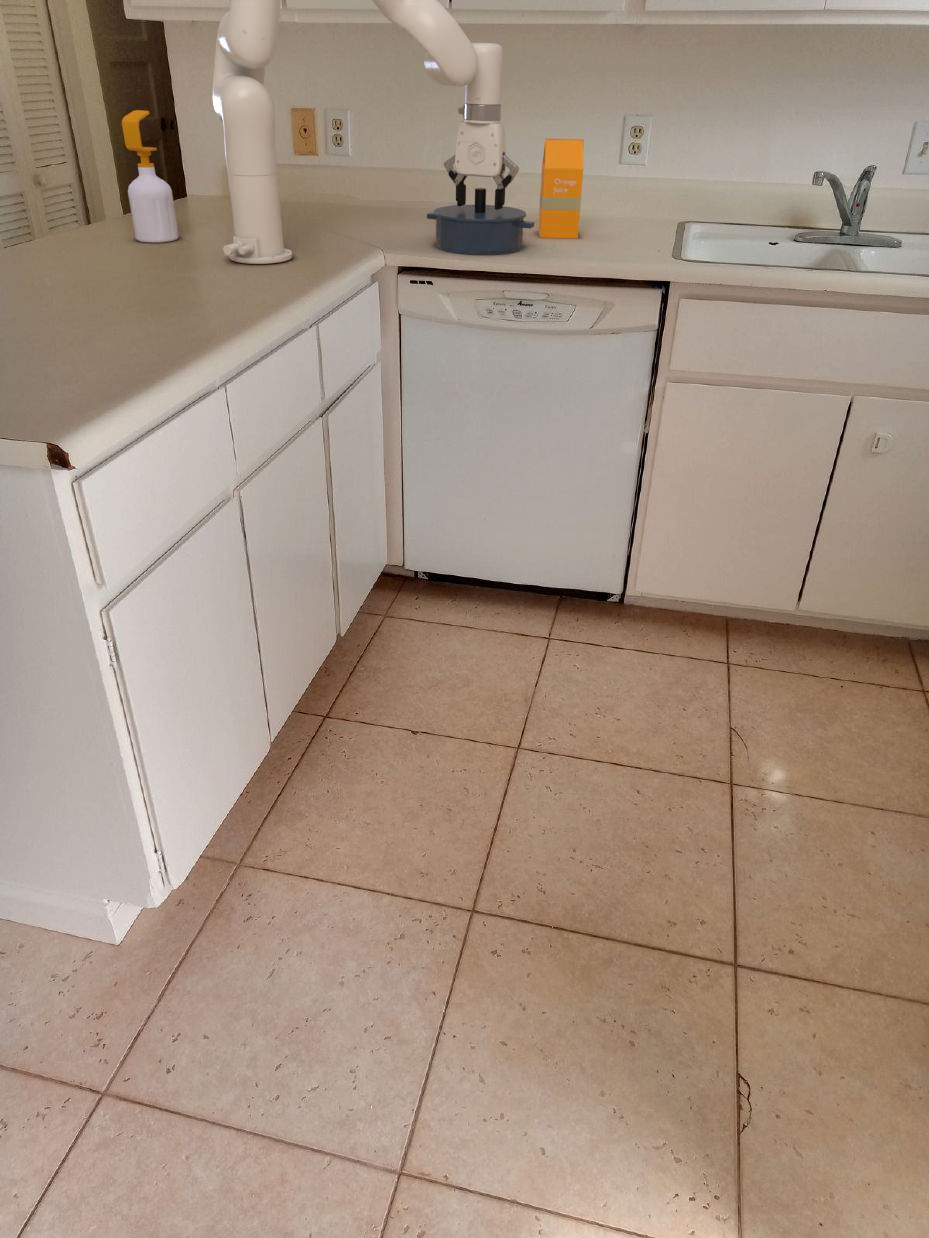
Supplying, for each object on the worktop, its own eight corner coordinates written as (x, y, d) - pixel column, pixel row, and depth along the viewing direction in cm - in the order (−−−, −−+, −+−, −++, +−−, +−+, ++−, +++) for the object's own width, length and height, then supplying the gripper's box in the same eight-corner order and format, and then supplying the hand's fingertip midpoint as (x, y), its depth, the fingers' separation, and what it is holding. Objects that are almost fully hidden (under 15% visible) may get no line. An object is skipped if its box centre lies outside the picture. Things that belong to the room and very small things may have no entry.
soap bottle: (187, 238, 197) (169, 111, 184) (159, 245, 190) (138, 113, 177) (155, 234, 200) (135, 108, 187) (127, 240, 193) (104, 111, 180)
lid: (506, 228, 182) (507, 198, 179) (418, 220, 188) (418, 191, 185) (538, 214, 197) (540, 187, 194) (456, 207, 204) (456, 180, 201)
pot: (515, 259, 185) (517, 226, 181) (410, 248, 193) (410, 215, 189) (545, 244, 199) (547, 213, 196) (446, 234, 207) (446, 204, 204)
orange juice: (577, 238, 206) (586, 141, 195) (540, 237, 206) (546, 140, 195) (574, 232, 213) (582, 138, 202) (537, 231, 213) (543, 137, 202)
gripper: (436, 113, 182) (436, 206, 192) (515, 117, 176) (511, 213, 186) (451, 111, 188) (450, 201, 197) (528, 115, 182) (523, 208, 192)
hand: (479, 206), depth 192 cm, fingers open, 8 cm apart
